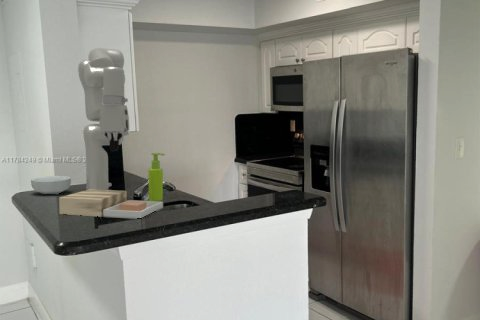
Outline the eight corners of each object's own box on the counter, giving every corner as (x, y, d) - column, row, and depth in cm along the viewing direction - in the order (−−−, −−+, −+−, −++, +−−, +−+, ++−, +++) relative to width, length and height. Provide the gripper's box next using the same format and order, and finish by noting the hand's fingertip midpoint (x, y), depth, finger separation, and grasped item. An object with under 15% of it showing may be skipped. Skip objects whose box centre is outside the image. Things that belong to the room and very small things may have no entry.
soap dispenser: (162, 201, 186) (161, 153, 185) (146, 200, 188) (146, 153, 186) (167, 199, 192) (167, 152, 190) (151, 198, 193) (151, 152, 192)
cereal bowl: (36, 191, 210) (35, 176, 209) (73, 190, 213) (73, 175, 213) (27, 197, 193) (26, 180, 193) (67, 196, 197) (67, 180, 196)
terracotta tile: (146, 202, 166) (146, 210, 166) (129, 201, 167) (129, 208, 168) (137, 205, 159) (137, 213, 159) (119, 204, 161) (119, 212, 161)
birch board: (89, 204, 179) (89, 189, 178) (126, 206, 175) (126, 191, 175) (59, 214, 159) (59, 197, 159) (100, 216, 156) (100, 199, 155)
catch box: (129, 206, 175) (129, 200, 175) (162, 208, 172) (162, 201, 172) (103, 216, 156) (103, 209, 156) (141, 219, 153) (141, 211, 153)
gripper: (137, 102, 167) (137, 151, 169) (100, 101, 170) (100, 149, 172) (128, 101, 160) (128, 152, 162) (89, 100, 162) (90, 151, 164)
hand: (114, 150), depth 167 cm, fingers closed
